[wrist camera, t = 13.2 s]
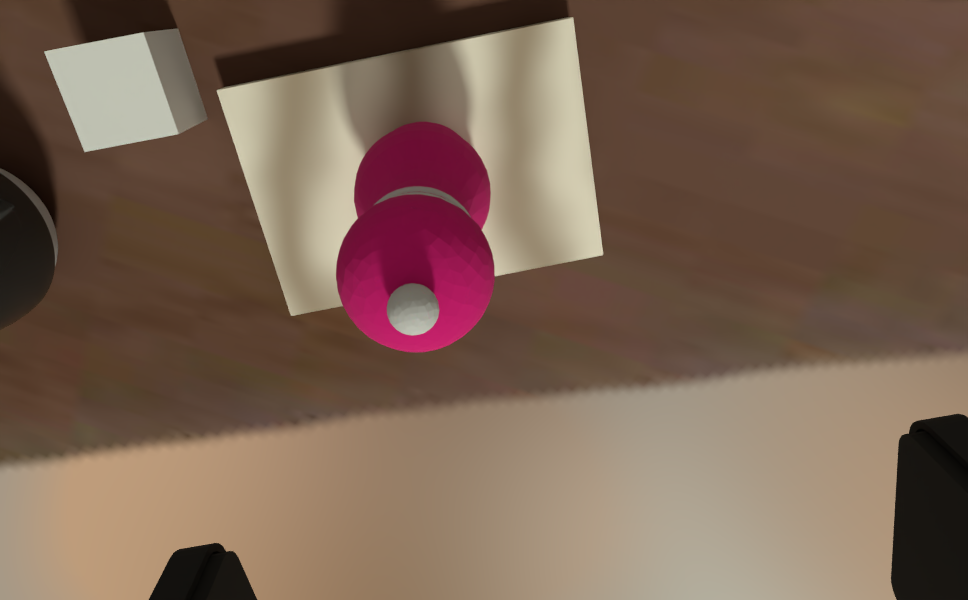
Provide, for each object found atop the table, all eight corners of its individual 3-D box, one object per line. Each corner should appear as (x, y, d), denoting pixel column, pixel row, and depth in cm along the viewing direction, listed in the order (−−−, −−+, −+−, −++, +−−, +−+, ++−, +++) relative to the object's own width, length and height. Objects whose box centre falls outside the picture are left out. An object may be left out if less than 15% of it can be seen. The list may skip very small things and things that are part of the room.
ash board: (568, 17, 40) (573, 17, 38) (598, 247, 45) (603, 254, 44) (224, 87, 40) (216, 90, 39) (295, 306, 46) (291, 315, 44)
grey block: (178, 28, 39) (143, 32, 34) (208, 118, 41) (178, 133, 36) (90, 45, 39) (44, 51, 34) (124, 134, 41) (84, 151, 36)
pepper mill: (338, 185, 41) (256, 338, 23) (412, 85, 39) (387, 166, 21) (436, 256, 43) (432, 449, 25) (511, 165, 41) (566, 302, 23)
